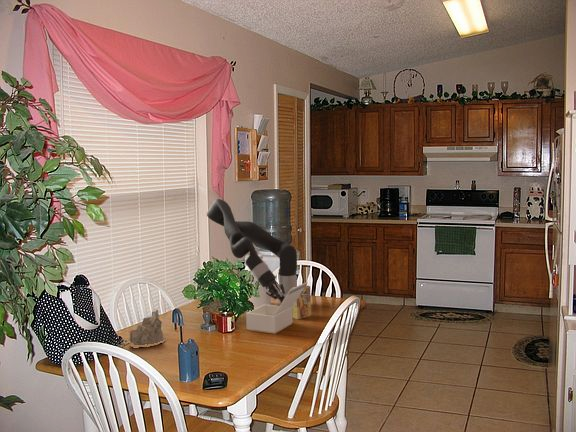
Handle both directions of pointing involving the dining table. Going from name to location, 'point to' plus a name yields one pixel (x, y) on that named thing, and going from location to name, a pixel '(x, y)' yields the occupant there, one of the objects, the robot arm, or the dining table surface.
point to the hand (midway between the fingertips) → (286, 304)
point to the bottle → (260, 292)
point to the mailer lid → (290, 298)
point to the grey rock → (148, 331)
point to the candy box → (302, 304)
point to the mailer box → (268, 319)
